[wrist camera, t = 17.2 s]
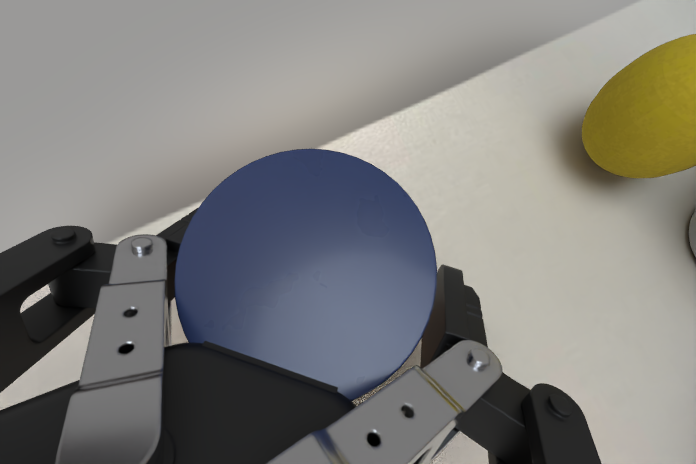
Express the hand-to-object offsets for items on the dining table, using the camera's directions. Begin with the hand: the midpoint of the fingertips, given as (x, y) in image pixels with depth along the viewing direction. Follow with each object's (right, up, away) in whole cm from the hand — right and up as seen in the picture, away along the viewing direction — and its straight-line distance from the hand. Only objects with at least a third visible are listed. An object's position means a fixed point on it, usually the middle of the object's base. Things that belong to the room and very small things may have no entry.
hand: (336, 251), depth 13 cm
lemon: (+15, +5, +7) cm, 17 cm away
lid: (-1, 0, -5) cm, 5 cm away
